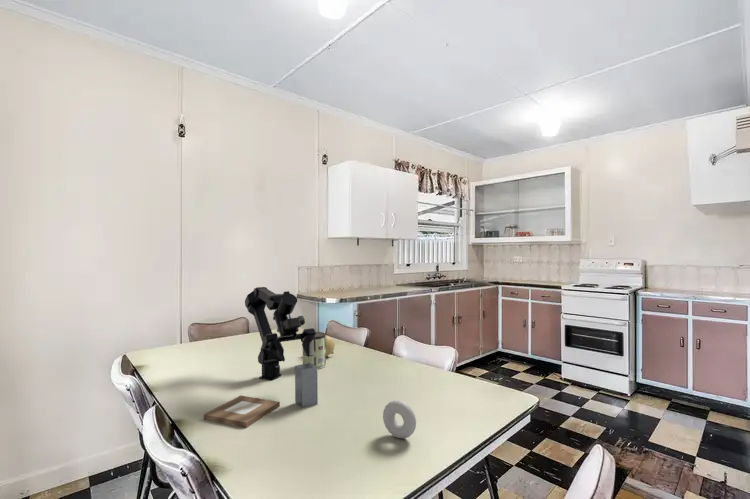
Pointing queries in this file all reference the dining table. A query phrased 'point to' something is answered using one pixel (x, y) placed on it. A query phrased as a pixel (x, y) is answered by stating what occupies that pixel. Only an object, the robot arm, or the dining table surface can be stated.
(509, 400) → the dining table surface
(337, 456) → the dining table surface
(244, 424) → the walnut board
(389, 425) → the donut
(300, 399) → the gray block
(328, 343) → the toy pig
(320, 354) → the coffee can
